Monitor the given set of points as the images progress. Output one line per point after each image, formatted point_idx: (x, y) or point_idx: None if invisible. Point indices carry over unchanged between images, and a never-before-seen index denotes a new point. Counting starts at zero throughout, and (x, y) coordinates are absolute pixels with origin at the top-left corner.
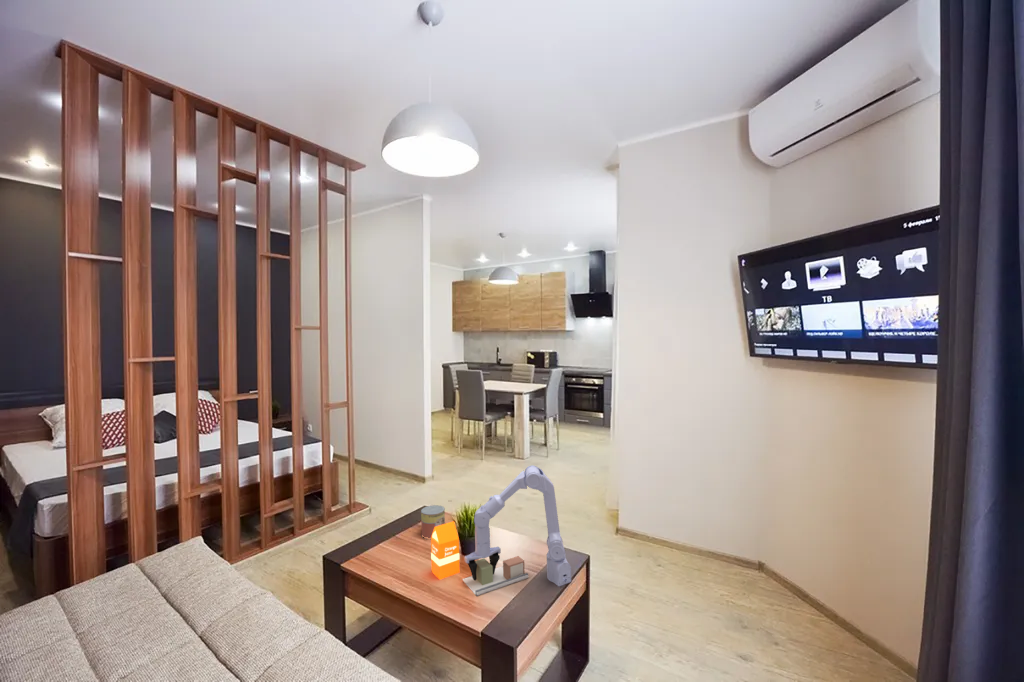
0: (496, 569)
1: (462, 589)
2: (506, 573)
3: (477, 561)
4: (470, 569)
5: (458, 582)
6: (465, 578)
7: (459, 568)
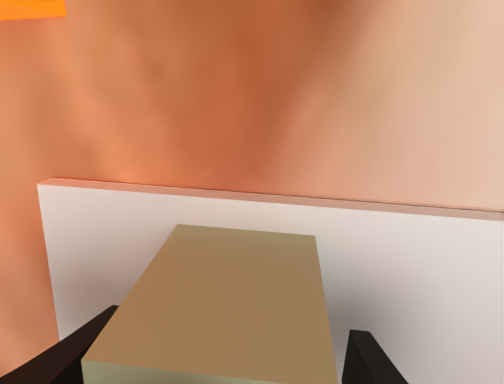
0: (487, 247)
1: (18, 293)
2: None
3: None
4: (19, 375)
5: (11, 170)
6: (75, 192)
7: (10, 2)
